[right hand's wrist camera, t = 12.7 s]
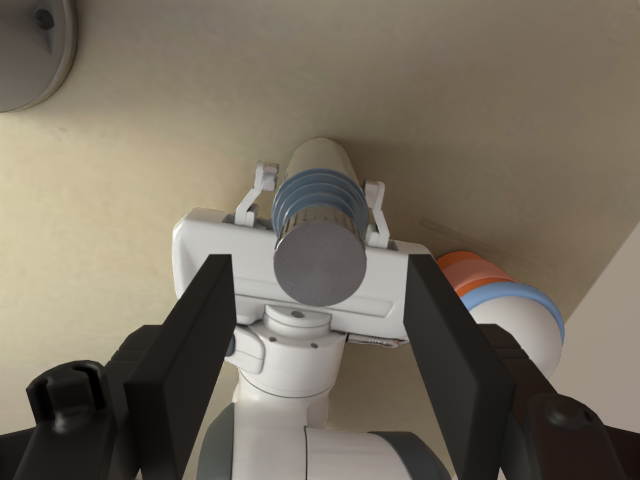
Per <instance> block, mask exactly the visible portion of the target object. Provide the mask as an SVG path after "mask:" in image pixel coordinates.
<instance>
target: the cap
mask: <svg viewBox="0 0 640 480" xmlns="http://www.w3.org/2000/svg"><path fill="white" fill-rule="evenodd" d="M274 250H275V252H274V256H273V268H274V274H275V277H276V280H277V282H278V284H279V285H280V287H281V288H282V290H283V291H284V292H285V293H286V294H287V295H288V296H290V297H291V298H292V299H294V300H295V301H297V302H299V303H302V304H305V305H308V306H314V307H326V306H332V305H336V304H338V303H341V302H343V301H344V300H346V299H348V298H349V297H351V296H352V295H353V294H354V293H355V292H356V291H357V289H358V288H359V287H360V285H361V284H362V282H363V280H364V277H365V274H366V268H367V256H366V253H365V250H366V248H365V245H364V241H363V238H362V235H361V234H360V231H359V227H358V226H356V225H355V223H354V222H353V219H350V218H349V217H348V216H347V215H346V213H345V212H344V213H343V212H341V211H339V210H337V209H336V208H331V207H327V206H314V207H309V208H304V209H303V210H301V211H299V212H295V214H294V215H293V216H292V217H291V218H290V219H289V218H288V219H287V222H286V223H285V225H284V226H282V228H281V231H280V235H279V234H278V238H277V241H276V245H275V248H274Z"/></svg>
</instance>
